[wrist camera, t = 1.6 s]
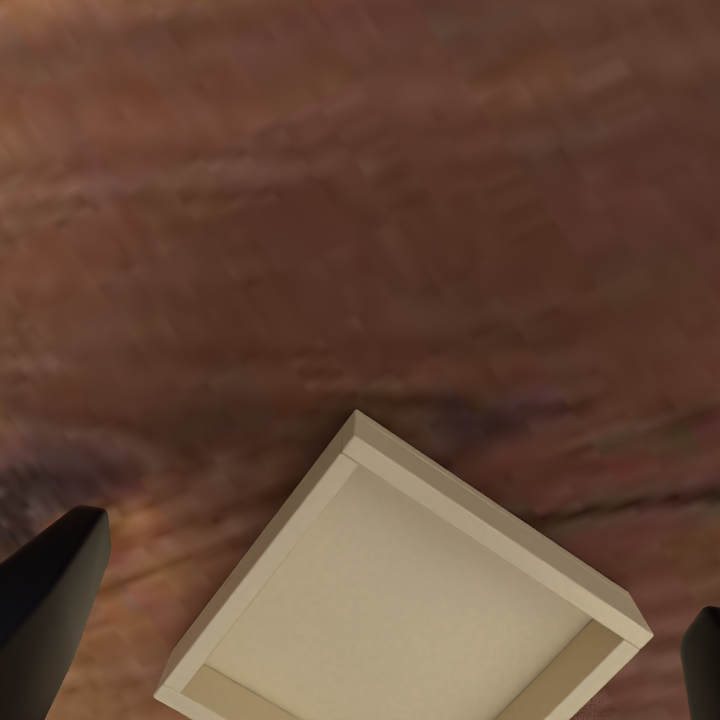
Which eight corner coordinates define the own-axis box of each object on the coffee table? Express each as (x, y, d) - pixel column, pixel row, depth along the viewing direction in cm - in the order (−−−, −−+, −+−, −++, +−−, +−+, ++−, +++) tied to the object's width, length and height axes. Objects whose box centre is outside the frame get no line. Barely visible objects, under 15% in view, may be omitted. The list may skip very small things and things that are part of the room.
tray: (426, 798, 30) (431, 855, 27) (171, 650, 28) (151, 697, 25) (629, 592, 27) (655, 636, 24) (356, 408, 25) (353, 435, 22)
